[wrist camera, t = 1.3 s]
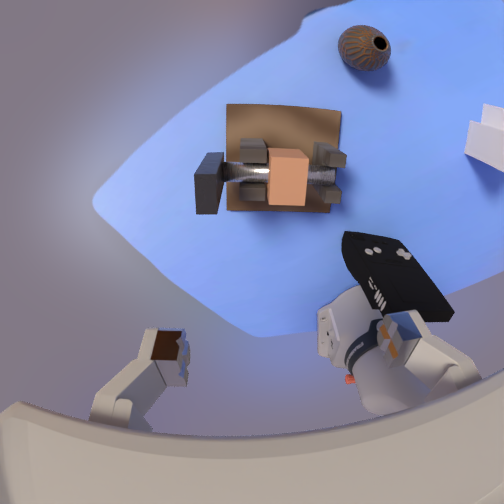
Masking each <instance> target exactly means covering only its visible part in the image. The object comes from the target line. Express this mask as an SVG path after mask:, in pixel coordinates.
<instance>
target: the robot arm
mask: <svg viewBox="0 0 504 504" xmlns="http://www.w3.org/2000/svg"><path fill="white" fill-rule="evenodd" d="M317 333H318V334H317V335H318V353H319V355H320V356H323V357H327V358H330V360H331V363H332V365H333V366H335V367H338V368H346V369H348V370H349V372H350V373H351V375H350V374H349V375H346V377H345V378H346V379H345V381H346V384H351V383H356V386H357V389H358V393H359V396H360V400H361V403H362V405H363V406H364V408H365V409H366V410H367V411H369V412H370V413H372V414H376V415H384V416H380V417H376V418H372V419H368V420H364V421H359V422H354V423H349V424H345V425H339V426H334V427H328V428H322V429H315V430H308V431H301V432H291V433H282V434H269V435H251V436H197V435H179V434H167V433H157V432H152V430H153V428H152V427H151V426H150V425H149V423H148V422H147V421H146V420H145V418H144V415H145V414H146V413H147V412H148V410H149V409H150V408H151V407H152V405H153V404H154V403H155V402H156V400H157V399H158V398H159V397H160V395H161V394H162V393H163V392H164V390H165V389H166V386H174V387H175V386H176V387H187V382H188V374H189V373H188V370H187V366H188V365H189V364H190V346H189V343H188V341H187V340H186V332H185V329H179V328H178V329H177V328H149V327H148V328H147V329H146V330H145V334H144V337H143V341H142V344H141V347H140V351H139V354H138V358H137V359H134V360H133V361H131V362H130V363H129V364H128V365H127V366H126V367H125V368H124V369H123V370H121V371H120V373H118V374H117V375H116V376H115V377H114V378H113V379H112V380H110V381H109V382H108V383H107V384H106V385H105V386H104V387H103V388H102V389H101V390H99V392H97V393H96V396H95V399H94V402H93V406H92V409H91V413H90V417H89V420H88V421H87V420H83V419H79V418H75V417H72V416H68V415H64V414H61V413H57V412H54V411H51V410H48V409H44V408H42V407H39V406H36V405H33V404H30V403H28V402H24V401H18V402H16V403H14V404H13V405H11V406H10V407H8V408H7V409H6V410H4V411H3V412H2V413H0V504H504V368H503V369H501V370H499V371H497V372H496V373H494V374H492V375H490V376H488V377H486V378H484V379H482V378H481V376H480V374H479V372H478V370H477V368H476V366H475V365H474V363H473V361H472V359H471V358H469V357H468V356H466V355H465V354H463V353H462V352H460V351H459V350H457V349H456V348H454V347H452V346H451V345H449V344H448V343H446V342H445V341H443V340H442V339H440V338H439V337H437V336H436V335H432V334H431V333H430V331H429V329H428V327H427V326H426V324H425V322H424V321H423V319H422V318H421V316H420V314H419V313H418V311H417V310H410V311H403V312H397V313H391V314H386V315H385V316H384V318H383V317H382V315H381V313H380V311H379V310H375V309H372V308H371V306H370V304H369V302H368V300H367V298H366V296H365V294H364V292H363V290H362V288H361V286H360V285H358V286H355V287H353V288H350V289H348V290H347V291H345V292H343V293H342V294H341V295H339V296H338V297H337V298H336V299H335V300H334V301H333V302H332V303H330V304H328V305H326V306H324V307H322V308H320V309H319V310H318V312H317Z"/></svg>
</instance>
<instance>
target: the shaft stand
mask: <svg viewBox="0 0 504 504" xmlns="http://www.w3.org/2000/svg"><path fill="white" fill-rule="evenodd" d="M340 119H341V111H335V110H327V109H318V108H309V107H298V106H284V105H264V104H227V107H226V162H240V163H266V162H268V163H269V161H268V159H267V148H285V149H300V150H301V151H302V152H303V153H304V154H305V155H306V156H307V157H308V158H309V164H310V165H324V166H329V167H334V169H335V179H336V171H337V167H340V168H345V165H346V157H347V155H346V154H344V153H343V152H341V151H340V150H338V141H339V130H340ZM226 186H227V210H235V211H294V212H323V213H330V206H331V203H335V204H340V201H341V194H342V191H341V190H340V189H339V188H338V187H337V186H336V185H335V181H334V184H333V185H319V184H307V187H306V197H305V206H296V205H269V202H268V198H267V193H266V182H226Z"/></svg>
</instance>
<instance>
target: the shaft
mask: <svg viewBox="0 0 504 504" xmlns="http://www.w3.org/2000/svg"><path fill="white" fill-rule="evenodd" d="M268 172H269V163H268V162H266V163H240V162H224V152H215V153H207V154H206V156H205V158H204V159H203V161H202V162H201V164H200V166H199V167H198V169H197V170H196V172H195V174H194V182H195V200H196V214H217V213H218V208H219V203H220V199H221V194H222V190H223V185H224V182H268ZM334 181H335V169H334V167H329V166H324V165H310V164H309V166H308V177H307V184H319V185H333V184H334Z"/></svg>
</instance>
